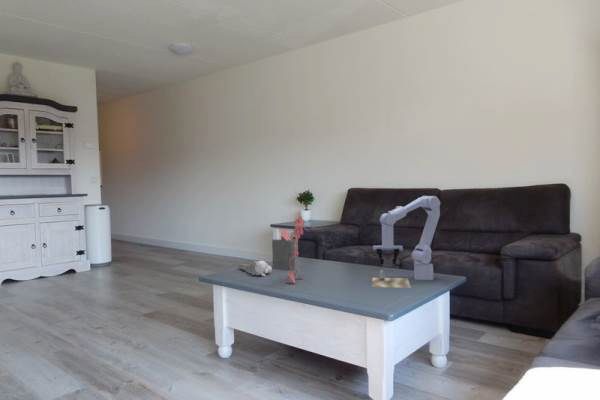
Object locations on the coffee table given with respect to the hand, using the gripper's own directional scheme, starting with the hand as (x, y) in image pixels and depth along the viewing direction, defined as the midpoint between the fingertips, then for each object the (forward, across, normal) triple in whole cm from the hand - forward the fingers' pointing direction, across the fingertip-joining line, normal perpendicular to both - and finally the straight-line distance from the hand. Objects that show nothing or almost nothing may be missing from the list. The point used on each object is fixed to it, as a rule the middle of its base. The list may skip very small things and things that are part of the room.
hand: (387, 264), depth 214 cm
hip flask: (+10, -60, +34) cm, 70 cm away
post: (+10, -3, +3) cm, 11 cm away
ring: (+1, 0, 0) cm, 1 cm away
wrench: (+10, -80, +22) cm, 83 cm away
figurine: (+10, -45, +1) cm, 46 cm away
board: (+10, +1, -2) cm, 10 cm away
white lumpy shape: (+10, -68, +16) cm, 71 cm away
